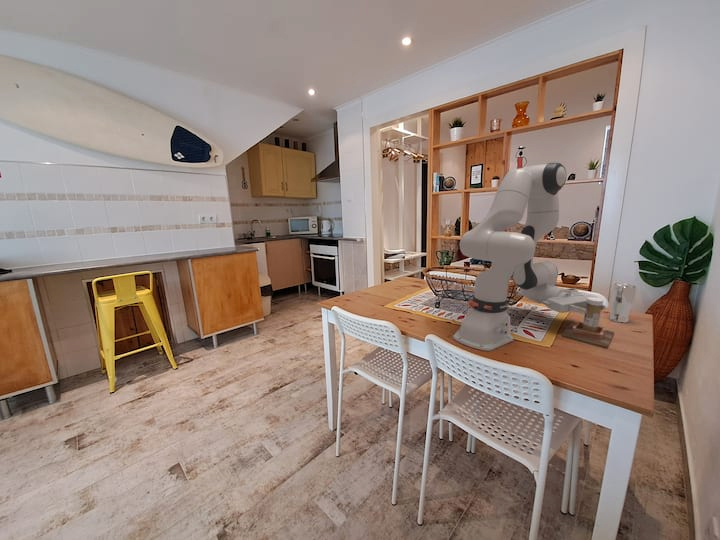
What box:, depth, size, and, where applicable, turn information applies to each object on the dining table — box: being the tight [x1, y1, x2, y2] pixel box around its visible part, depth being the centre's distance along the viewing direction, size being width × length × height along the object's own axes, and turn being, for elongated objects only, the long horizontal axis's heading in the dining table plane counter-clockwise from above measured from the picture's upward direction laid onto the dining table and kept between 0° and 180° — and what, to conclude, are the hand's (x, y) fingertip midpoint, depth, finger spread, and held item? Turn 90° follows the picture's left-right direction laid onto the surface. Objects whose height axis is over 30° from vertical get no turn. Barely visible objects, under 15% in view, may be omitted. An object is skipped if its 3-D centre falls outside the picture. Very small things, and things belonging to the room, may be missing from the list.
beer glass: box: [608, 282, 637, 324], centre depth 116 cm, size 7×7×15 cm
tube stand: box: [561, 321, 615, 349], centre depth 104 cm, size 16×13×3 cm
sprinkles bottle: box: [582, 297, 604, 333], centre depth 103 cm, size 5×5×13 cm
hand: (595, 309), depth 102 cm, fingers open, 8 cm apart
